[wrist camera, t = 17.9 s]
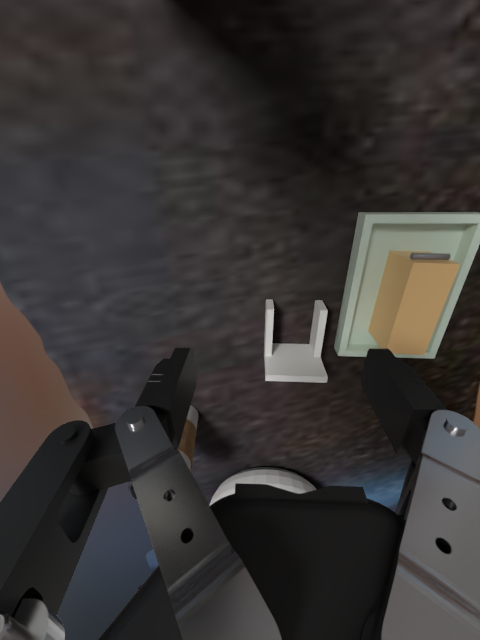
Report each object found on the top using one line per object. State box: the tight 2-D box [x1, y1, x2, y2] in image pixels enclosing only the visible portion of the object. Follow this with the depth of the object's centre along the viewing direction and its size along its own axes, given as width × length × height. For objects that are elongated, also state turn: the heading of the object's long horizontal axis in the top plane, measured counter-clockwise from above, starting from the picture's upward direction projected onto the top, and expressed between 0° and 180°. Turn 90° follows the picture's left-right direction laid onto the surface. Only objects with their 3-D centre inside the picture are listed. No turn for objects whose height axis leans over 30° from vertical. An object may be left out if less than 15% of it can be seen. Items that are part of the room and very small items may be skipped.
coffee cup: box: [130, 405, 198, 499], centre depth 45 cm, size 8×8×15 cm
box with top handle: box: [368, 250, 460, 355], centre depth 34 cm, size 13×5×6 cm, turn 179°
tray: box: [334, 212, 480, 358], centre depth 36 cm, size 20×14×2 cm
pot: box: [209, 467, 317, 506], centre depth 54 cm, size 29×26×17 cm
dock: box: [264, 300, 328, 383], centre depth 38 cm, size 9×8×8 cm
